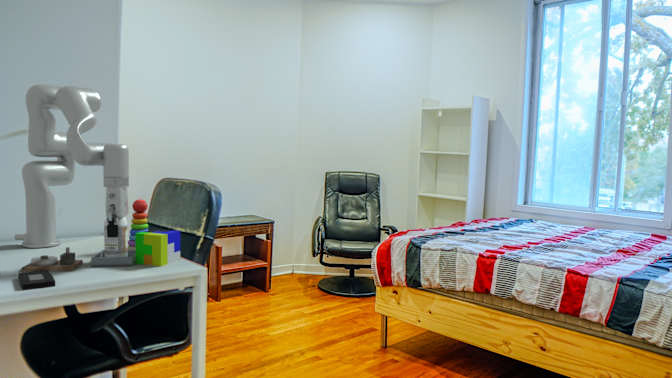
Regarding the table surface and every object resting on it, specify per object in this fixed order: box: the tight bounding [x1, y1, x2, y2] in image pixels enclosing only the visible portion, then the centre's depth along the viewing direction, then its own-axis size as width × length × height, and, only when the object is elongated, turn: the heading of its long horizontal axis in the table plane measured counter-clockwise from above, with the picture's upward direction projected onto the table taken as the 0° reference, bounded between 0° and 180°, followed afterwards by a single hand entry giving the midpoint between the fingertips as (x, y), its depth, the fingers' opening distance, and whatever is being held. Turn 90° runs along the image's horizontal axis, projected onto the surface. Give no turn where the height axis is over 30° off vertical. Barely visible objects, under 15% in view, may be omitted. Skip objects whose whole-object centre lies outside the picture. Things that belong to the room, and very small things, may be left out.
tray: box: [90, 249, 136, 268], centre depth 165 cm, size 12×12×3 cm
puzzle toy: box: [135, 228, 181, 267], centre depth 167 cm, size 10×10×10 cm
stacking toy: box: [128, 198, 150, 250], centre depth 184 cm, size 8×8×19 cm
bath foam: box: [103, 209, 129, 257], centre depth 165 cm, size 7×7×20 cm
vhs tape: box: [17, 270, 56, 291], centre depth 140 cm, size 8×14×2 cm, turn 36°
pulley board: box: [20, 246, 84, 273], centre depth 156 cm, size 14×10×6 cm
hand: (116, 234), depth 165 cm, fingers open, 9 cm apart
